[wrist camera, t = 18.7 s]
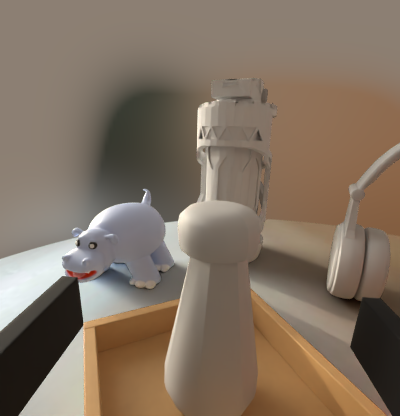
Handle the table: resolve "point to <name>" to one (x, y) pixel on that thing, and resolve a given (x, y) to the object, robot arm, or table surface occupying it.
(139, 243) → the hippopotamus toy
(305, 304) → the table surface
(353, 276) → the headphones
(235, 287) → the salt shaker
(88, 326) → the pale tray
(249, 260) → the lantern
